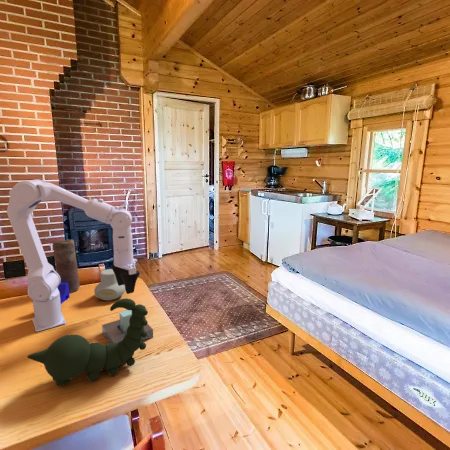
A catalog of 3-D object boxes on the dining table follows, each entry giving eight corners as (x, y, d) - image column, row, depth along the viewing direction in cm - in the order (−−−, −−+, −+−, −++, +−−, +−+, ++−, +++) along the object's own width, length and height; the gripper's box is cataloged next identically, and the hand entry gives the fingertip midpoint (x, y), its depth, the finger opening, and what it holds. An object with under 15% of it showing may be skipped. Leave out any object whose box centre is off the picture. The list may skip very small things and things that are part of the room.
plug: (120, 334, 87) (119, 312, 86) (131, 330, 89) (130, 309, 88) (124, 339, 85) (123, 316, 83) (135, 335, 87) (134, 313, 85)
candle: (53, 292, 114) (47, 242, 109) (66, 285, 121) (61, 237, 116) (71, 294, 112) (66, 243, 108) (83, 286, 119) (79, 238, 115)
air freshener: (128, 291, 115) (127, 267, 113) (123, 301, 107) (121, 275, 105) (99, 292, 114) (97, 267, 112) (91, 302, 106) (89, 276, 104)
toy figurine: (139, 355, 81) (30, 377, 69) (143, 289, 77) (28, 300, 66) (148, 377, 72) (25, 406, 61) (152, 304, 69) (23, 320, 57)
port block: (102, 332, 88) (101, 325, 87) (138, 321, 94) (138, 313, 94) (114, 351, 79) (114, 343, 79) (153, 337, 86) (152, 329, 86)
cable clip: (58, 297, 110) (56, 282, 109) (69, 298, 110) (68, 282, 109) (34, 313, 99) (32, 296, 97) (47, 314, 98) (45, 297, 97)
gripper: (144, 251, 90) (146, 293, 93) (127, 241, 101) (129, 278, 104) (121, 255, 86) (124, 299, 88) (106, 244, 97) (109, 283, 100)
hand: (125, 288), depth 96 cm, fingers open, 7 cm apart
